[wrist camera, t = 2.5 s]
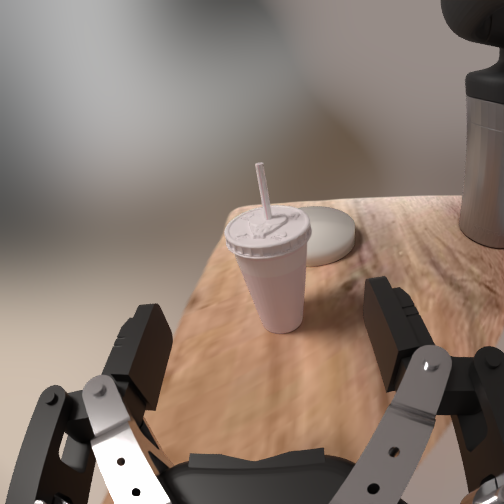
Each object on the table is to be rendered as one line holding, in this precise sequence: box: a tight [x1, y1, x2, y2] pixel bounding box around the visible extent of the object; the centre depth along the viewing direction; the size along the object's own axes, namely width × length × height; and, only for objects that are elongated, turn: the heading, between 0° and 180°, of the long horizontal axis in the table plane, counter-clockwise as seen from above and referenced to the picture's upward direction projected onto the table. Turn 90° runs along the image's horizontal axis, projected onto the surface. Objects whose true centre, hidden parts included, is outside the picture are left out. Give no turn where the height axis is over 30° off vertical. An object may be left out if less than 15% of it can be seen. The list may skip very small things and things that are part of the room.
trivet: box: [298, 206, 355, 267], centre depth 37 cm, size 11×11×2 cm
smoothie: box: [224, 163, 312, 334], centre depth 24 cm, size 6×6×14 cm
